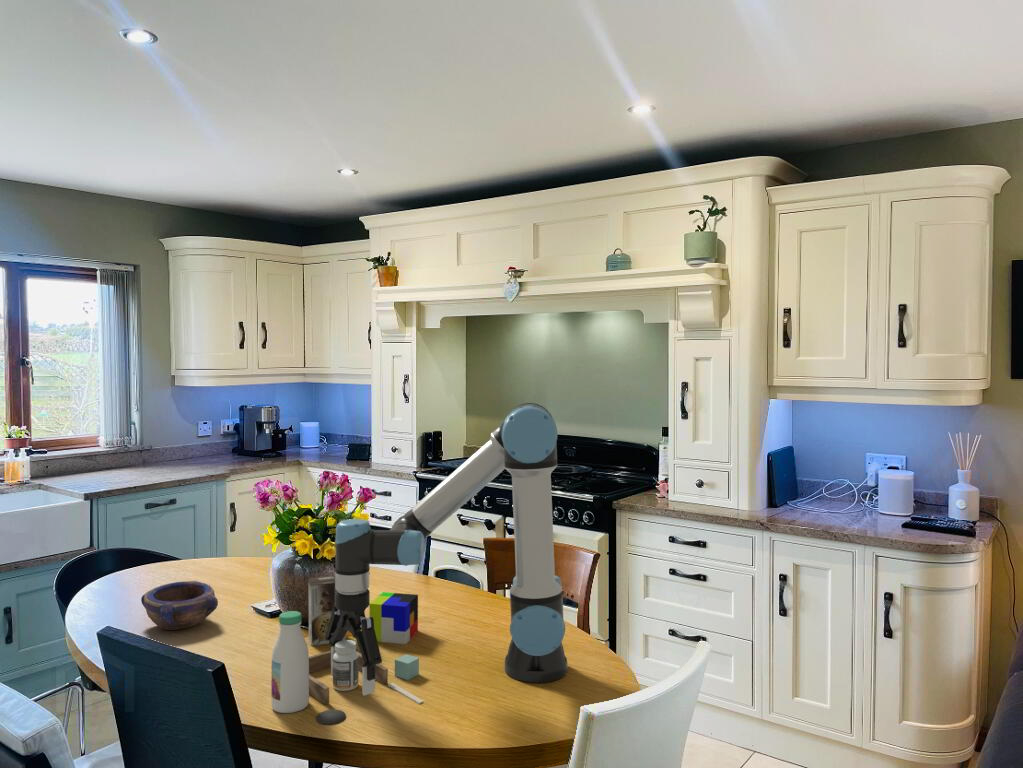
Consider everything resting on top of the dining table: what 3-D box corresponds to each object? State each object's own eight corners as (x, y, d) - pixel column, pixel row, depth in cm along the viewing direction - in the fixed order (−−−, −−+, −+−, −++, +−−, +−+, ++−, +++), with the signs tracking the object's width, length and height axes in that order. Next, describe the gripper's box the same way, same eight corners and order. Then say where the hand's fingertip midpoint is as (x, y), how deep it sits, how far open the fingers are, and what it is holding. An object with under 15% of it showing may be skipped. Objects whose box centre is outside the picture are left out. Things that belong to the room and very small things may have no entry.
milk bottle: (312, 697, 168) (312, 607, 167) (304, 714, 160) (304, 620, 160) (277, 697, 168) (277, 607, 167) (266, 714, 160) (266, 620, 159)
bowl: (154, 642, 199) (154, 604, 198) (136, 623, 213) (136, 587, 212) (224, 627, 210) (224, 591, 210) (202, 610, 224) (202, 576, 224)
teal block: (418, 674, 181) (419, 658, 181) (407, 680, 178) (407, 663, 178) (405, 670, 183) (406, 654, 183) (394, 676, 180) (394, 659, 180)
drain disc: (351, 718, 159) (351, 716, 159) (325, 727, 155) (325, 726, 155) (336, 708, 163) (336, 706, 163) (310, 717, 159) (310, 715, 159)
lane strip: (423, 702, 167) (423, 700, 167) (419, 703, 166) (419, 702, 166) (392, 684, 175) (392, 683, 175) (387, 685, 175) (387, 684, 175)
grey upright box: (342, 633, 207) (342, 574, 206) (346, 642, 201) (346, 581, 200) (307, 637, 203) (307, 577, 203) (310, 646, 197) (310, 584, 197)
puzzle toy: (405, 644, 200) (405, 606, 199) (369, 641, 202) (369, 603, 201) (417, 630, 209) (418, 594, 209) (383, 627, 211) (383, 592, 211)
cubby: (387, 683, 176) (387, 668, 176) (325, 704, 165) (325, 688, 165) (346, 659, 189) (346, 645, 189) (286, 678, 178) (286, 663, 178)
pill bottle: (347, 679, 178) (347, 637, 178) (363, 686, 174) (363, 643, 174) (327, 687, 174) (327, 644, 173) (343, 694, 170) (343, 650, 170)
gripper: (398, 599, 164) (397, 696, 165) (338, 574, 183) (338, 661, 184) (368, 607, 159) (367, 707, 160) (310, 580, 178) (310, 670, 179)
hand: (352, 683), depth 172 cm, fingers open, 13 cm apart
